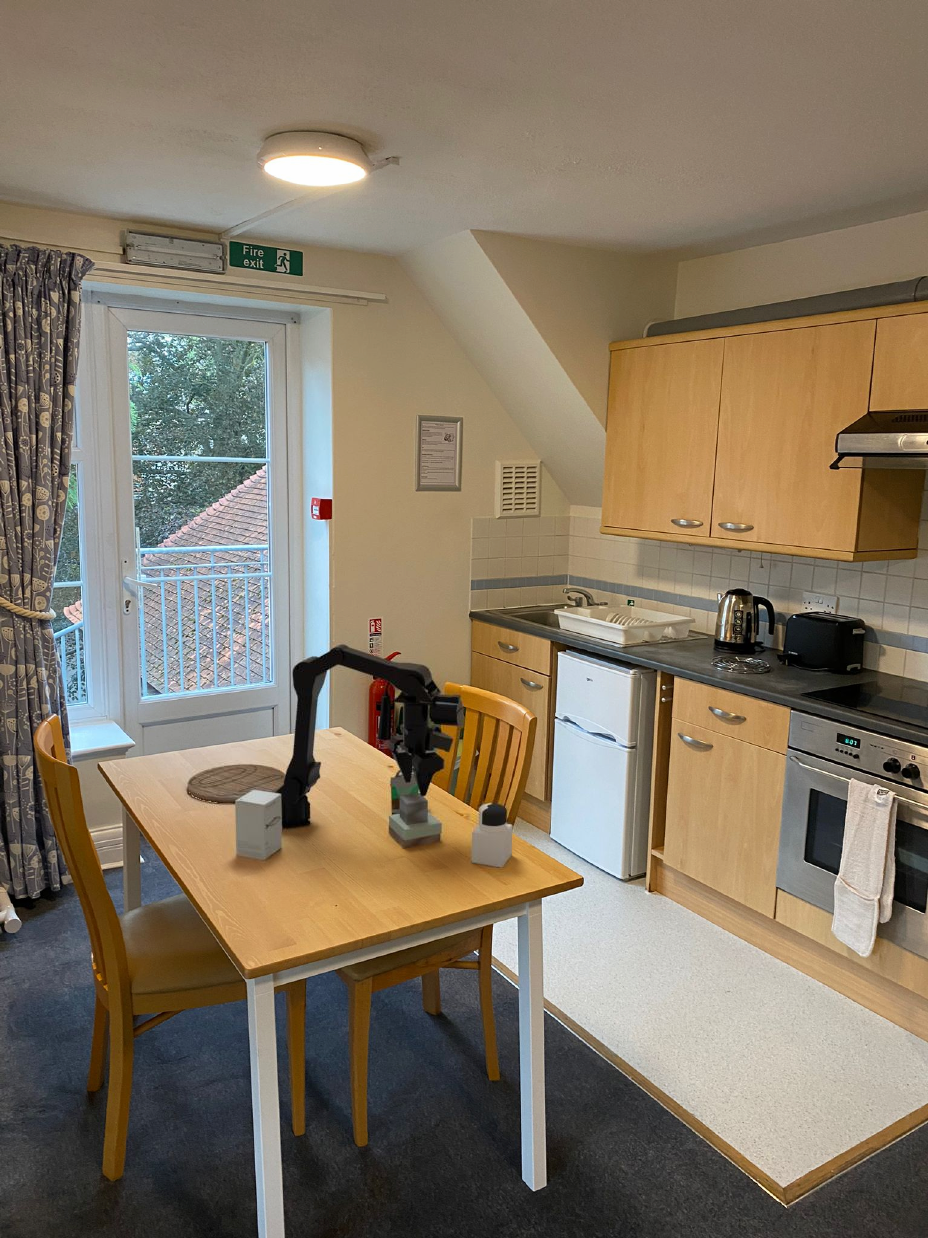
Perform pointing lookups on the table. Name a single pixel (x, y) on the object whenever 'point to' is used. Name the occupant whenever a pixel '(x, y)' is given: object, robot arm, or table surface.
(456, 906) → the table surface
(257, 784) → the trivet
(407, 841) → the walnut slab
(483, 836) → the medicine bottle
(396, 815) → the sage slab
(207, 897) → the table surface
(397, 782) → the food container
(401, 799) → the grey cube
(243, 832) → the supplement box
